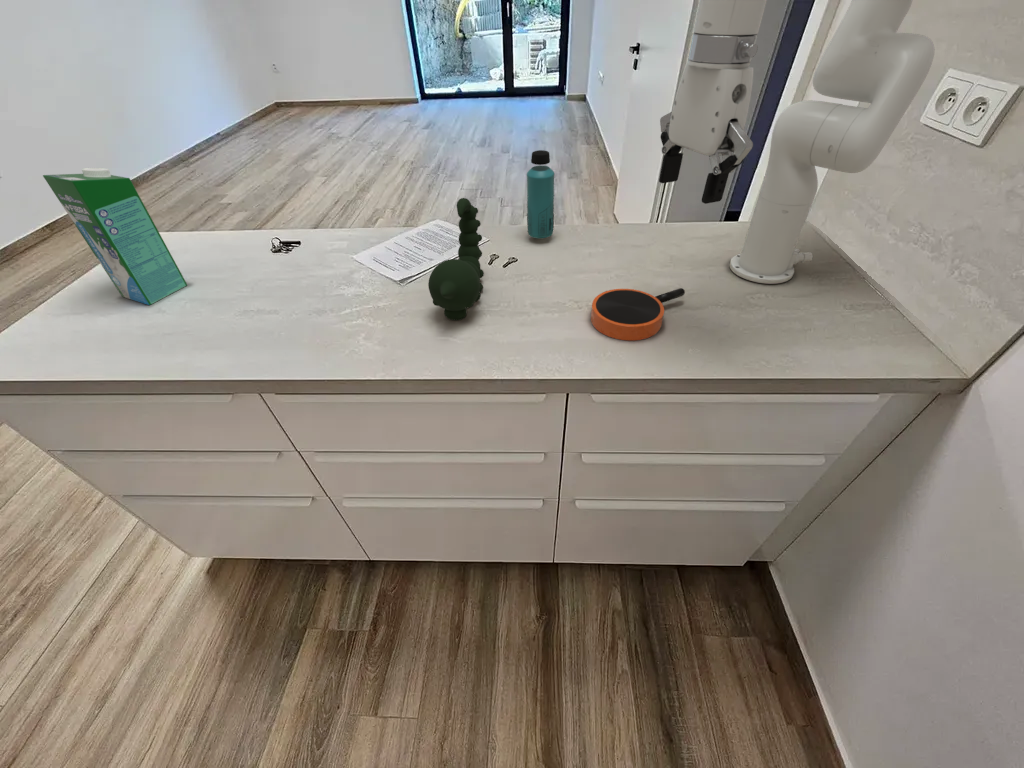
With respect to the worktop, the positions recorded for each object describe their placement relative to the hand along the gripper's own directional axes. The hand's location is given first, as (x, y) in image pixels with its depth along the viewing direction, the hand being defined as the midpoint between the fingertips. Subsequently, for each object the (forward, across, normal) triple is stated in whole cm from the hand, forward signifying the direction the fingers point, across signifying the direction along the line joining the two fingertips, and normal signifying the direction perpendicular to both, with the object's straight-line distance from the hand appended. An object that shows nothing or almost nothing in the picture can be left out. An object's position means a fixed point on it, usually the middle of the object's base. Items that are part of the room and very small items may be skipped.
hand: (688, 191), depth 71 cm
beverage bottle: (+24, +44, +2) cm, 51 cm away
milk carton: (+27, +58, +88) cm, 109 cm away
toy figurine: (+25, +25, +29) cm, 46 cm away
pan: (+24, +5, 0) cm, 25 cm away
